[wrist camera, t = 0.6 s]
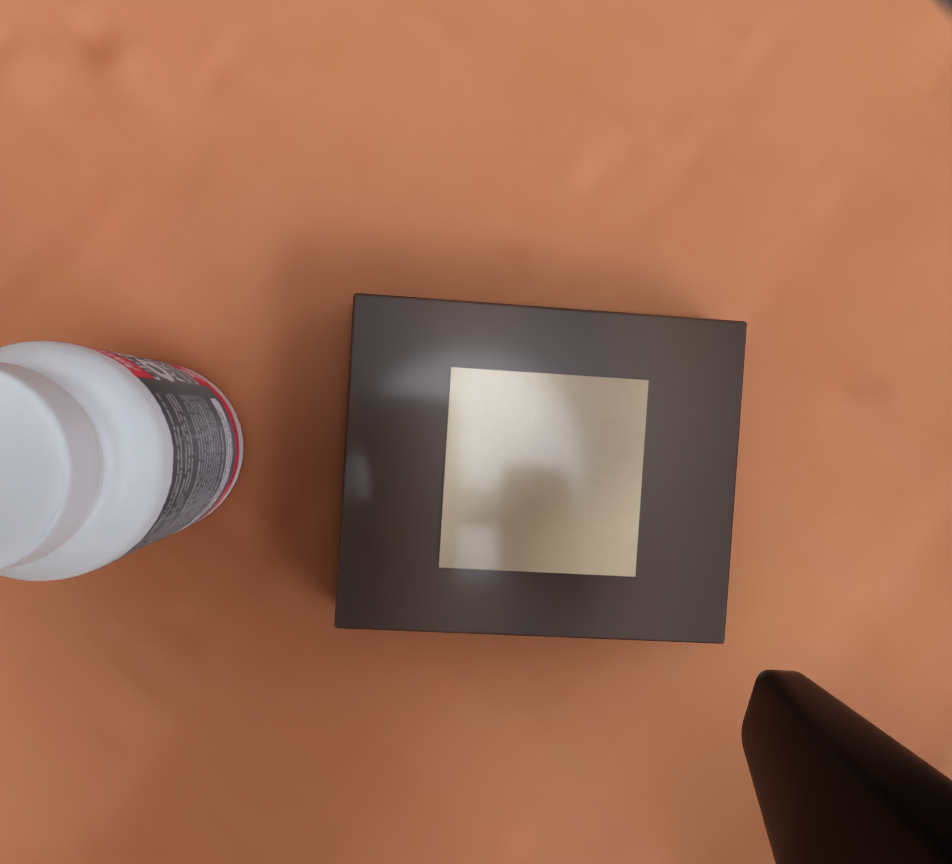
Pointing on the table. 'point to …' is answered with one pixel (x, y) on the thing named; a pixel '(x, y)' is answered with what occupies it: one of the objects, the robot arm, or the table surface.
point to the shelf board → (538, 471)
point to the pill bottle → (104, 456)
